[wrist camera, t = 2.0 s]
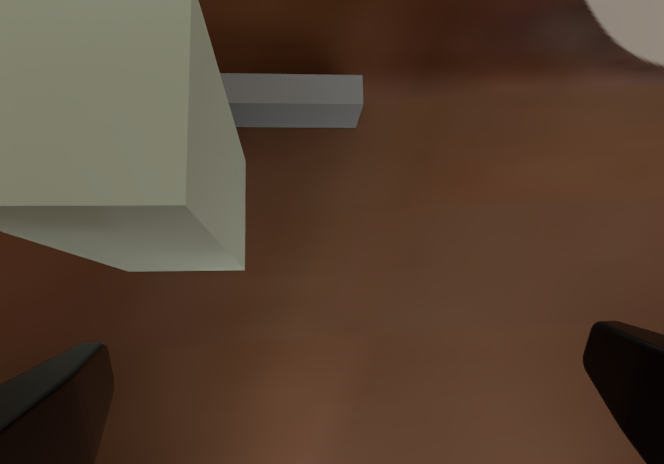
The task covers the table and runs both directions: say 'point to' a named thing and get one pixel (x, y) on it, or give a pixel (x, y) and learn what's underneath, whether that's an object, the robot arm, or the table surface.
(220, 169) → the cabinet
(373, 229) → the table surface
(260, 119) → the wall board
